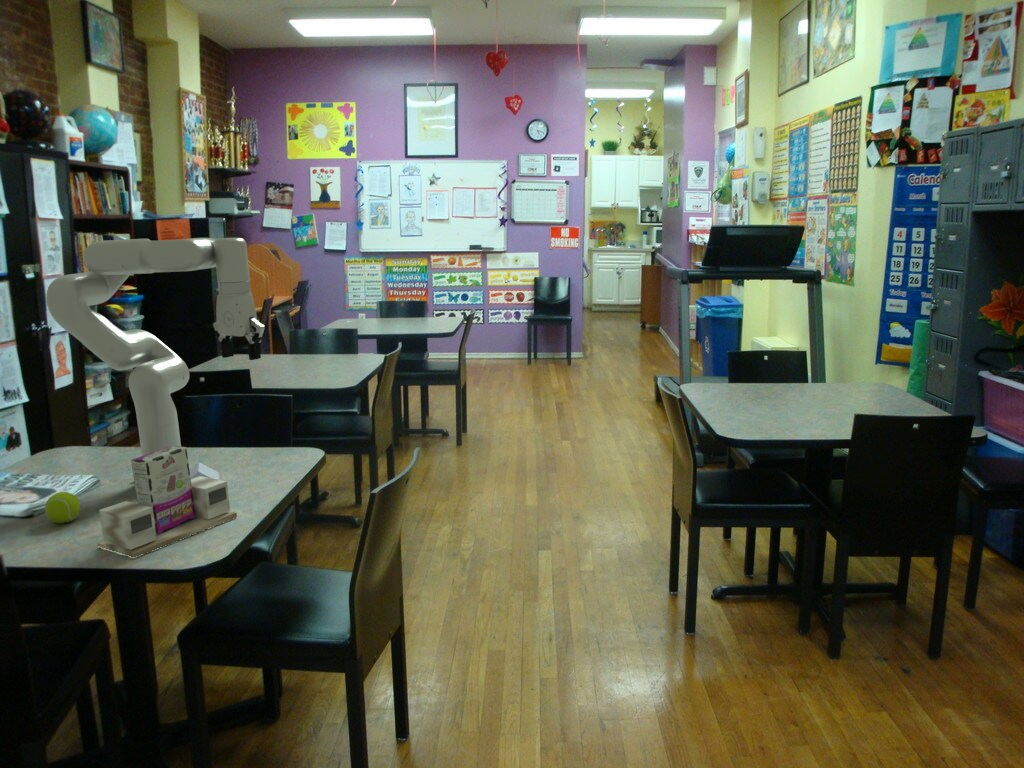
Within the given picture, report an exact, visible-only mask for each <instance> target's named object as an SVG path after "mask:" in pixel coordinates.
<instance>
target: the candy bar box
mask: <svg viewBox="0 0 1024 768" xmlns="http://www.w3.org/2000/svg"><path fill="white" fill-rule="evenodd" d="M130 461H131V468H132V476H133V481H134V488H135V494H136V495H135V496H136V502H137V503H136V504H140V505H144V506H148V507H152V508H153V514H154V522H155V530H156V535H159V534H161V533H164V532H166V531H168V530H170V529H172V528H174V527H177V526H179V525H181V524H183V523H185V522H187V521H189V520H191V519H194V518H195V517H196V516H195V509H194V501H193V494H192V486H191V479H190V471H189V470H190V466H189V458H188V450H187V447H186V446H181V447H180V446H169V447H166V448H163V449H160V450H158V451H155V452H152V453H149V454H147V455H144V456H142V455H141V456H139V457H136V458H132V459H131V460H130Z"/></svg>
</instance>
